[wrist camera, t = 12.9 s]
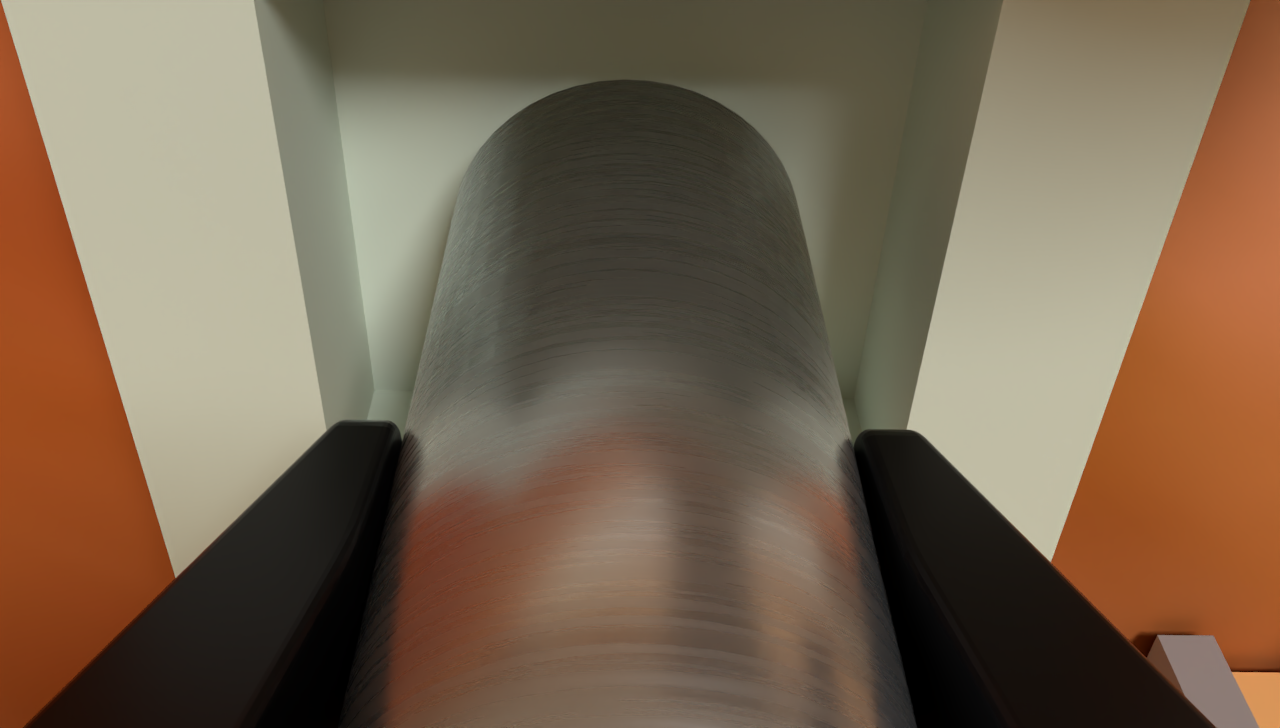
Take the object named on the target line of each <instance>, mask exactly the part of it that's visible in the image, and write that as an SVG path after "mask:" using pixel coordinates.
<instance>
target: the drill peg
mask: <svg viewBox="0 0 1280 728" xmlns="http://www.w3.org/2000/svg"><path fill="white" fill-rule="evenodd" d="M338 728H917V724H916V719H915V715H914V710H913V706H912V702H911V697H910V693H909V689H908V684H907V680H906V676H905V671H904V667H903V662H902V658H901V654H900V649H899V645H898V641H897V636H896V632H895V627H894V623H893V619H892V614H891V610H890V606H889V601H888V597H887V592H886V588H885V584H884V579H883V575H882V571H881V566H880V562H879V558H878V553H877V549H876V544H875V540H874V536H873V531H872V527H871V523H870V518H869V514H868V509H867V505H866V501H865V496H864V492H863V488H862V483H861V479H860V474H859V470H858V466H857V461H856V457H855V453H854V448H853V444H852V440H851V435H850V431H849V426H848V422H847V418H846V413H845V409H844V405H843V400H842V396H841V391H840V387H839V383H838V378H837V374H836V370H835V365H834V361H833V357H832V352H831V348H830V343H829V339H828V335H827V330H826V326H825V322H824V317H823V313H822V308H821V304H820V300H819V295H818V291H817V287H816V282H815V278H814V273H813V269H812V265H811V260H810V256H809V252H808V247H807V243H806V239H805V234H804V230H803V225H802V221H801V217H800V212H799V208H798V204H797V199H796V196H795V193H794V190H793V186H792V183H791V180H790V178H789V176H788V174H787V172H786V170H785V168H784V166H783V164H782V162H781V160H780V159H779V157H778V156H777V154H776V153H775V151H774V150H773V149H772V147H771V146H770V144H769V143H768V142H767V141H766V140H765V139H764V138H763V137H762V135H761V134H760V133H759V132H758V131H757V130H756V129H755V128H754V127H753V126H752V125H750V124H749V123H748V122H747V121H745V120H744V119H743V118H742V117H741V116H739V115H738V114H737V113H735V112H734V111H732V110H730V109H729V108H727V107H725V106H724V105H722V104H721V103H719V102H717V101H715V100H713V99H711V98H708V97H706V96H704V95H702V94H700V93H697V92H695V91H692V90H688V89H685V88H682V87H678V86H675V85H671V84H665V83H660V82H654V81H648V80H626V79H622V80H609V81H597V82H593V83H588V84H583V85H578V86H573V87H571V88H568V89H565V90H562V91H559V92H556V93H553V94H550V95H548V96H546V97H544V98H542V99H540V100H538V101H536V102H534V103H532V104H530V105H528V106H527V107H525V108H524V109H522V110H521V111H519V112H518V113H516V114H515V115H513V116H512V117H510V118H509V119H508V120H507V121H506V122H505V123H504V124H503V125H501V126H500V127H499V128H498V129H497V130H496V131H495V132H494V133H493V134H492V135H491V136H490V137H489V138H488V140H487V141H486V142H485V143H484V144H483V146H482V147H481V148H480V149H479V151H478V152H477V154H476V156H475V157H474V159H473V160H472V162H471V163H470V165H469V167H468V169H467V171H466V174H465V176H464V178H463V180H462V183H461V185H460V189H459V192H458V196H457V200H456V204H455V208H454V212H453V217H452V221H451V226H450V230H449V235H448V239H447V244H446V248H445V252H444V257H443V261H442V266H441V270H440V275H439V279H438V284H437V288H436V293H435V297H434V301H433V306H432V310H431V315H430V319H429V324H428V328H427V333H426V337H425V342H424V346H423V350H422V355H421V359H420V364H419V368H418V373H417V377H416V382H415V386H414V391H413V395H412V399H411V404H410V408H409V413H408V417H407V422H406V426H405V431H404V435H403V439H402V444H401V449H400V453H399V458H398V462H397V467H396V471H395V476H394V480H393V485H392V489H391V493H390V498H389V502H388V507H387V511H386V516H385V520H384V525H383V529H382V534H381V538H380V542H379V547H378V551H377V556H376V560H375V565H374V569H373V574H372V578H371V582H370V587H369V591H368V596H367V600H366V604H365V609H364V613H363V618H362V622H361V626H360V631H359V635H358V640H357V644H356V649H355V653H354V658H353V662H352V667H351V671H350V675H349V680H348V684H347V689H346V693H345V698H344V702H343V707H342V711H341V716H340V720H339V724H338Z"/></svg>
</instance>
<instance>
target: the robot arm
mask: <svg viewBox="0 0 1280 728" xmlns="http://www.w3.org/2000/svg"><path fill="white" fill-rule="evenodd" d="M401 444H402V438H401V433H400V430H399V428H398V427H397V425H396V424H395V423H393V422H392V421H388V420H341V421H339V422H337V423H335V424H333V425H332V426H331V427H330V428H329V429H328V430H327V431H326V432H324V433H323V434H322V435H321V436H320V437H319V438H318V439H317V440H316V441H315V442H314V443H313V444H312V445H311V446H310V447H309V448H308V449H307V450H306V451H305V452H304V453H303V454H302V455H301V456H300V457H299V458H298V459H297V460H296V461H295V462H294V463H293V464H292V465H291V466H290V467H289V468H288V469H287V470H286V471H285V472H284V473H283V474H282V475H281V476H280V477H279V478H277V479H276V480H275V481H274V482H273V483H272V484H271V485H270V486H269V487H268V488H267V489H266V490H265V491H264V492H263V493H262V494H261V495H260V496H259V497H258V498H257V499H256V500H255V501H254V502H253V503H252V504H251V505H250V506H249V507H248V508H247V509H246V510H245V511H244V512H243V513H242V514H241V515H240V516H239V517H238V518H237V519H236V520H235V521H234V522H233V523H231V524H230V525H229V526H228V527H227V528H226V529H225V530H224V531H223V532H222V533H221V534H220V535H219V536H218V537H217V538H216V539H215V540H214V541H213V542H212V543H211V544H210V545H209V546H208V547H207V548H206V549H205V550H204V551H203V552H202V553H201V554H200V555H199V556H198V557H197V558H196V559H195V560H194V561H193V562H192V563H191V564H190V565H189V566H188V567H187V568H185V569H184V570H183V571H182V572H181V573H180V574H179V575H178V576H177V577H176V578H175V579H174V580H173V581H172V582H171V583H170V584H169V585H168V586H167V587H166V588H165V589H164V590H163V591H162V592H161V593H160V594H159V595H158V596H157V597H156V598H155V599H154V600H153V601H152V602H151V603H150V604H149V605H148V606H147V607H146V608H145V609H144V610H143V611H142V612H141V613H139V614H138V615H137V616H136V617H135V618H134V619H133V620H132V621H131V622H130V623H129V624H128V625H127V626H126V627H125V628H124V629H123V630H122V631H121V632H120V633H119V634H118V635H117V636H116V637H115V638H114V639H113V640H112V641H111V642H110V643H109V644H108V645H107V646H106V647H105V648H104V649H103V650H102V651H101V652H100V653H99V654H98V655H97V656H96V657H95V658H93V659H92V660H91V661H90V662H89V663H88V664H87V665H86V666H85V667H84V668H83V669H82V670H81V671H80V672H79V673H78V674H77V675H76V676H75V677H74V678H73V679H72V680H71V681H70V682H69V683H68V684H67V685H66V686H65V687H64V688H63V689H62V690H61V691H60V692H59V693H58V694H57V695H56V696H55V697H54V698H53V699H52V700H51V701H50V702H49V703H47V704H46V705H45V706H44V707H43V708H42V709H41V710H40V711H39V712H38V713H37V714H36V715H35V716H34V717H33V718H32V719H31V720H30V721H29V722H28V723H27V724H26V725H25V726H24V727H23V728H338V724H339V720H340V716H341V711H342V707H343V702H344V698H345V693H346V689H347V684H348V680H349V675H350V671H351V667H352V662H353V658H354V653H355V649H356V644H357V640H358V635H359V631H360V626H361V622H362V618H363V613H364V609H365V604H366V600H367V596H368V591H369V587H370V582H371V578H372V574H373V569H374V565H375V560H376V556H377V551H378V547H379V542H380V538H381V534H382V529H383V525H384V520H385V516H386V511H387V507H388V502H389V498H390V493H391V489H392V485H393V480H394V476H395V471H396V467H397V462H398V458H399V453H400V449H401ZM853 448H854V453H855V457H856V461H857V466H858V470H859V474H860V479H861V483H862V488H863V492H864V496H865V501H866V505H867V509H868V514H869V518H870V523H871V527H872V531H873V536H874V540H875V544H876V549H877V553H878V558H879V562H880V566H881V571H882V575H883V579H884V584H885V588H886V592H887V597H888V601H889V606H890V610H891V614H892V619H893V623H894V627H895V632H896V636H897V641H898V645H899V649H900V654H901V658H902V662H903V667H904V671H905V676H906V680H907V684H908V689H909V693H910V697H911V702H912V706H913V710H914V715H915V719H916V724H917V728H1216V727H1215V726H1214V725H1213V724H1212V723H1211V722H1210V721H1209V720H1208V719H1207V718H1206V717H1205V716H1204V715H1203V714H1202V713H1201V712H1200V711H1199V710H1198V709H1197V708H1196V707H1195V706H1194V705H1193V704H1192V703H1191V702H1190V701H1189V700H1188V699H1187V698H1186V697H1185V696H1184V695H1183V694H1182V693H1181V692H1180V691H1179V690H1178V689H1177V688H1176V687H1175V686H1174V685H1173V684H1172V683H1171V682H1170V681H1169V680H1168V679H1167V678H1166V677H1165V676H1164V675H1163V674H1162V673H1161V672H1160V671H1159V670H1158V669H1157V668H1156V667H1155V666H1154V665H1153V664H1152V663H1151V662H1150V661H1149V660H1148V659H1147V658H1146V657H1145V656H1144V655H1143V654H1142V653H1141V652H1140V651H1139V650H1138V649H1137V648H1136V647H1135V646H1134V645H1133V644H1132V643H1131V642H1130V641H1129V640H1128V639H1127V638H1126V637H1125V636H1124V635H1123V634H1122V633H1121V632H1120V631H1119V630H1118V629H1117V628H1116V627H1115V626H1114V625H1113V624H1112V623H1111V622H1110V621H1109V620H1108V619H1107V618H1106V617H1105V616H1104V615H1103V614H1102V613H1101V612H1100V611H1099V610H1098V609H1097V608H1096V607H1095V606H1094V605H1093V604H1092V603H1091V602H1090V601H1089V600H1088V599H1087V598H1086V597H1085V596H1084V595H1083V594H1082V593H1081V592H1080V591H1079V590H1078V589H1077V588H1076V587H1075V586H1074V585H1073V584H1072V583H1071V582H1070V581H1069V580H1068V579H1067V578H1066V577H1065V576H1064V575H1063V574H1062V573H1061V572H1060V571H1059V570H1058V569H1057V568H1056V567H1055V566H1054V565H1053V564H1052V563H1051V562H1050V561H1049V560H1048V559H1047V558H1046V557H1045V556H1044V555H1043V554H1042V553H1041V552H1040V551H1039V550H1038V549H1037V548H1036V547H1035V546H1034V545H1033V544H1032V543H1031V542H1030V541H1029V540H1028V539H1027V538H1026V537H1025V536H1024V535H1023V534H1022V533H1021V532H1020V531H1019V530H1018V529H1017V528H1016V527H1015V526H1014V525H1013V524H1012V523H1011V522H1010V521H1009V520H1008V519H1007V518H1006V517H1005V516H1004V515H1003V514H1002V513H1001V512H1000V511H999V510H998V509H997V508H996V507H995V506H994V505H993V504H992V503H991V502H990V501H989V500H988V499H987V498H986V497H985V496H984V495H983V494H982V493H981V492H980V491H979V490H978V489H977V488H976V487H975V486H974V485H972V484H971V483H970V482H969V481H968V480H967V479H966V478H965V477H964V476H963V475H962V474H961V473H960V472H959V471H958V470H957V469H956V468H955V467H954V466H953V465H952V464H951V463H950V462H949V461H948V460H947V459H946V458H945V457H944V456H943V455H942V454H941V453H940V452H939V451H938V450H937V449H936V448H935V447H934V446H933V445H932V444H931V443H930V442H929V441H928V440H927V439H926V438H925V437H924V436H923V435H922V434H920V433H918V432H916V431H913V430H902V429H866V430H864V431H862V432H861V433H860V434H859V435H858V436H857V438H856V440H855V443H854V447H853Z"/></svg>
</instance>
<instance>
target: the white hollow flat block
mask: <svg viewBox="0 0 1280 728" xmlns="http://www.w3.org/2000/svg"><path fill="white" fill-rule="evenodd" d="M1250 1H1251V0H1V2H2V5H3V8H4V12H5V15H6V18H7V21H8V25H9V28H10V31H11V35H12V38H13V41H14V45H15V48H16V51H17V55H18V58H19V61H20V65H21V68H22V71H23V74H24V78H25V81H26V84H27V88H28V91H29V94H30V98H31V101H32V104H33V108H34V111H35V114H36V117H37V121H38V124H39V127H40V131H41V134H42V137H43V141H44V144H45V147H46V151H47V154H48V157H49V161H50V164H51V167H52V170H53V174H54V177H55V180H56V184H57V187H58V190H59V194H60V197H61V200H62V204H63V207H64V210H65V213H66V217H67V220H68V223H69V227H70V230H71V233H72V237H73V240H74V243H75V247H76V250H77V253H78V257H79V260H80V263H81V266H82V270H83V273H84V276H85V280H86V283H87V286H88V290H89V293H90V296H91V300H92V303H93V306H94V309H95V313H96V316H97V319H98V323H99V326H100V329H101V333H102V336H103V339H104V343H105V346H106V349H107V353H108V356H109V359H110V362H111V366H112V369H113V372H114V376H115V379H116V382H117V386H118V389H119V392H120V396H121V399H122V402H123V405H124V409H125V412H126V415H127V419H128V422H129V425H130V429H131V432H132V435H133V439H134V442H135V445H136V449H137V452H138V455H139V458H140V462H141V465H142V468H143V472H144V475H145V478H146V482H147V485H148V488H149V492H150V495H151V498H152V501H153V505H154V508H155V511H156V515H157V518H158V521H159V525H160V528H161V531H162V535H163V538H164V541H165V545H166V548H167V551H168V554H169V558H170V561H171V564H172V568H173V571H174V574H175V578H176V577H177V576H178V575H179V574H180V573H181V572H182V571H183V570H184V569H185V568H187V567H188V566H189V565H190V564H191V563H192V562H193V561H194V560H195V559H196V558H197V557H198V556H199V555H200V554H201V553H202V552H203V551H204V550H205V549H206V548H207V547H208V546H209V545H210V544H211V543H212V542H213V541H214V540H215V539H216V538H217V537H218V536H219V535H220V534H221V533H222V532H223V531H224V530H225V529H226V528H227V527H228V526H229V525H230V524H231V523H233V522H234V521H235V520H236V519H237V518H238V517H239V516H240V515H241V514H242V513H243V512H244V511H245V510H246V509H247V508H248V507H249V506H250V505H251V504H252V503H253V502H254V501H255V500H256V499H257V498H258V497H259V496H260V495H261V494H262V493H263V492H264V491H265V490H266V489H267V488H268V487H269V486H270V485H271V484H272V483H273V482H274V481H275V480H276V479H277V478H279V477H280V476H281V475H282V474H283V473H284V472H285V471H286V470H287V469H288V468H289V467H290V466H291V465H292V464H293V463H294V462H295V461H296V460H297V459H298V458H299V457H300V456H301V455H302V454H303V453H304V452H305V451H306V450H307V449H308V448H309V447H310V446H311V445H312V444H313V443H314V442H315V441H316V440H317V439H318V438H319V437H320V436H321V435H322V434H323V433H324V432H326V431H327V430H328V429H329V428H330V427H331V426H332V425H333V424H335V423H337V422H339V421H341V420H388V421H392V422H393V423H395V424H396V425H397V427H398V428H399V430H400V433H401V438H402V439H403V435H404V431H405V426H406V422H407V417H408V413H409V408H410V404H411V399H412V395H413V391H414V386H415V382H416V377H417V373H418V368H419V364H420V359H421V355H422V350H423V346H424V342H425V337H426V333H427V328H428V324H429V319H430V315H431V310H432V306H433V301H434V297H435V293H436V288H437V284H438V279H439V275H440V270H441V266H442V261H443V257H444V252H445V248H446V244H447V239H448V235H449V230H450V226H451V221H452V217H453V212H454V208H455V204H456V200H457V196H458V192H459V189H460V185H461V183H462V180H463V178H464V176H465V174H466V171H467V169H468V167H469V165H470V163H471V162H472V160H473V159H474V157H475V156H476V154H477V152H478V151H479V149H480V148H481V147H482V146H483V144H484V143H485V142H486V141H487V140H488V138H489V137H490V136H491V135H492V134H493V133H494V132H495V131H496V130H497V129H498V128H499V127H500V126H501V125H503V124H504V123H505V122H506V121H507V120H508V119H509V118H510V117H512V116H513V115H515V114H516V113H518V112H519V111H521V110H522V109H524V108H525V107H527V106H528V105H530V104H532V103H534V102H536V101H538V100H540V99H542V98H544V97H546V96H548V95H550V94H553V93H556V92H559V91H562V90H565V89H568V88H571V87H573V86H578V85H583V84H588V83H593V82H597V81H609V80H622V79H626V80H648V81H654V82H660V83H665V84H671V85H675V86H678V87H682V88H685V89H688V90H692V91H695V92H697V93H700V94H702V95H704V96H706V97H708V98H711V99H713V100H715V101H717V102H719V103H721V104H722V105H724V106H725V107H727V108H729V109H730V110H732V111H734V112H735V113H737V114H738V115H739V116H741V117H742V118H743V119H744V120H745V121H747V122H748V123H749V124H750V125H752V126H753V127H754V128H755V129H756V130H757V131H758V132H759V133H760V134H761V135H762V137H763V138H764V139H765V140H766V141H767V142H768V143H769V144H770V146H771V147H772V149H773V150H774V151H775V153H776V154H777V156H778V157H779V159H780V160H781V162H782V164H783V166H784V168H785V170H786V172H787V174H788V176H789V178H790V180H791V183H792V186H793V190H794V193H795V196H796V199H797V204H798V208H799V212H800V217H801V221H802V225H803V230H804V234H805V239H806V243H807V247H808V252H809V256H810V260H811V265H812V269H813V273H814V278H815V282H816V287H817V291H818V295H819V300H820V304H821V308H822V313H823V317H824V322H825V326H826V330H827V335H828V339H829V343H830V348H831V352H832V357H833V361H834V365H835V370H836V374H837V378H838V383H839V387H840V391H841V396H842V400H843V405H844V409H845V413H846V418H847V422H848V426H849V431H850V435H851V440H852V444H853V447H854V443H855V440H856V438H857V436H858V435H859V434H860V433H861V432H862V431H864V430H866V429H902V430H913V431H916V432H918V433H920V434H922V435H923V436H924V437H925V438H926V439H927V440H928V441H929V442H930V443H931V444H932V445H933V446H934V447H935V448H936V449H937V450H938V451H939V452H940V453H941V454H942V455H943V456H944V457H945V458H946V459H947V460H948V461H949V462H950V463H951V464H952V465H953V466H954V467H955V468H956V469H957V470H958V471H959V472H960V473H961V474H962V475H963V476H964V477H965V478H966V479H967V480H968V481H969V482H970V483H971V484H972V485H974V486H975V487H976V488H977V489H978V490H979V491H980V492H981V493H982V494H983V495H984V496H985V497H986V498H987V499H988V500H989V501H990V502H991V503H992V504H993V505H994V506H995V507H996V508H997V509H998V510H999V511H1000V512H1001V513H1002V514H1003V515H1004V516H1005V517H1006V518H1007V519H1008V520H1009V521H1010V522H1011V523H1012V524H1013V525H1014V526H1015V527H1016V528H1017V529H1018V530H1019V531H1020V532H1021V533H1022V534H1023V535H1024V536H1025V537H1026V538H1027V539H1028V540H1029V541H1030V542H1031V543H1032V544H1033V545H1034V546H1035V547H1036V548H1037V549H1038V550H1039V551H1040V552H1041V553H1042V554H1043V555H1044V556H1045V557H1046V558H1047V559H1048V560H1049V561H1050V562H1051V560H1052V557H1053V554H1054V552H1055V549H1056V546H1057V543H1058V540H1059V538H1060V535H1061V532H1062V529H1063V526H1064V523H1065V521H1066V518H1067V515H1068V512H1069V509H1070V507H1071V504H1072V501H1073V498H1074V495H1075V493H1076V490H1077V487H1078V484H1079V481H1080V478H1081V476H1082V473H1083V470H1084V467H1085V464H1086V462H1087V459H1088V456H1089V453H1090V450H1091V448H1092V445H1093V442H1094V439H1095V436H1096V434H1097V431H1098V428H1099V425H1100V422H1101V419H1102V417H1103V414H1104V411H1105V408H1106V405H1107V403H1108V400H1109V397H1110V394H1111V391H1112V389H1113V386H1114V383H1115V380H1116V377H1117V374H1118V372H1119V369H1120V366H1121V363H1122V360H1123V358H1124V355H1125V352H1126V349H1127V346H1128V344H1129V341H1130V338H1131V335H1132V332H1133V329H1134V327H1135V324H1136V321H1137V318H1138V315H1139V313H1140V310H1141V307H1142V304H1143V301H1144V299H1145V296H1146V293H1147V290H1148V287H1149V284H1150V282H1151V279H1152V276H1153V273H1154V270H1155V268H1156V265H1157V262H1158V259H1159V256H1160V254H1161V251H1162V248H1163V245H1164V242H1165V240H1166V237H1167V234H1168V231H1169V228H1170V225H1171V223H1172V220H1173V217H1174V214H1175V211H1176V209H1177V206H1178V203H1179V200H1180V197H1181V195H1182V192H1183V189H1184V186H1185V183H1186V180H1187V178H1188V175H1189V172H1190V169H1191V166H1192V164H1193V161H1194V158H1195V155H1196V152H1197V150H1198V147H1199V144H1200V141H1201V138H1202V135H1203V133H1204V130H1205V127H1206V124H1207V121H1208V119H1209V116H1210V113H1211V110H1212V107H1213V105H1214V102H1215V99H1216V96H1217V93H1218V90H1219V88H1220V85H1221V82H1222V79H1223V76H1224V74H1225V71H1226V68H1227V65H1228V62H1229V60H1230V57H1231V54H1232V51H1233V48H1234V45H1235V43H1236V40H1237V37H1238V34H1239V31H1240V29H1241V26H1242V23H1243V20H1244V17H1245V15H1246V12H1247V9H1248V6H1249V3H1250Z"/></svg>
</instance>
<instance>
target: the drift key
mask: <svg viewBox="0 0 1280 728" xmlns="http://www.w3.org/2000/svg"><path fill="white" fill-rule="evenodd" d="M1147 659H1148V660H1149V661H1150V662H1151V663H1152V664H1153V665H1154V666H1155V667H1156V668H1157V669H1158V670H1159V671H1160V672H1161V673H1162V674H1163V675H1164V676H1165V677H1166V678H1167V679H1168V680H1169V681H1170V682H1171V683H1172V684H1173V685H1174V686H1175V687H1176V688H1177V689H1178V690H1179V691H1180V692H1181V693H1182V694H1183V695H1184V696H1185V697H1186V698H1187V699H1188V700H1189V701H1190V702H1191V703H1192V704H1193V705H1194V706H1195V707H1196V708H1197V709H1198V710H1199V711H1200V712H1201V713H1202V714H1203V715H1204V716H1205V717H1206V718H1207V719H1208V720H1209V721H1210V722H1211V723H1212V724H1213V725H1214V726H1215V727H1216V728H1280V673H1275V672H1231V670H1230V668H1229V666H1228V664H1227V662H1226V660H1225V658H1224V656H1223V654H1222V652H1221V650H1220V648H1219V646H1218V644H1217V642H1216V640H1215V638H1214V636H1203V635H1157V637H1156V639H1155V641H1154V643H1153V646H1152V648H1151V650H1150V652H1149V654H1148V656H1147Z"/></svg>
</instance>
